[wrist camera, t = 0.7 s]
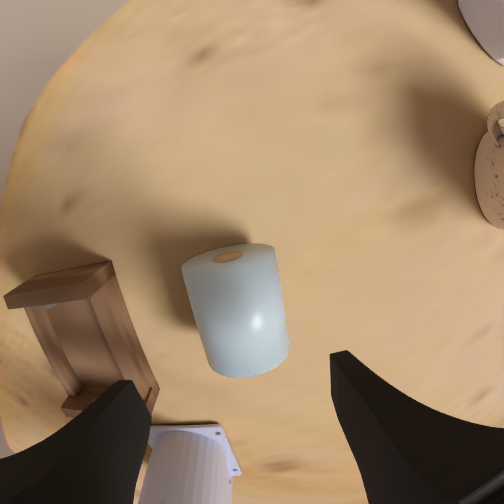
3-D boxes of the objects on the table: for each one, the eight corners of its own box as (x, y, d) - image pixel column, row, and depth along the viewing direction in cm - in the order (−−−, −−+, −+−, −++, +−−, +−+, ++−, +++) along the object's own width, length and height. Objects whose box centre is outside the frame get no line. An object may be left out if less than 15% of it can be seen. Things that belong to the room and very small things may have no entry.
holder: (159, 388, 21) (148, 423, 17) (83, 388, 21) (66, 416, 17) (111, 260, 18) (82, 282, 14) (33, 276, 18) (3, 296, 14)
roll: (284, 325, 19) (295, 371, 14) (212, 336, 19) (203, 383, 14) (270, 236, 18) (280, 262, 13) (190, 251, 18) (170, 280, 13)
